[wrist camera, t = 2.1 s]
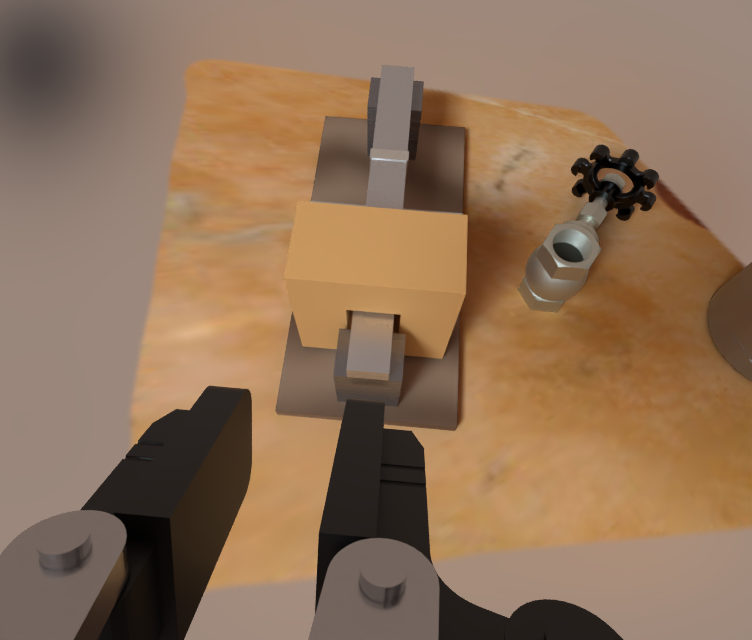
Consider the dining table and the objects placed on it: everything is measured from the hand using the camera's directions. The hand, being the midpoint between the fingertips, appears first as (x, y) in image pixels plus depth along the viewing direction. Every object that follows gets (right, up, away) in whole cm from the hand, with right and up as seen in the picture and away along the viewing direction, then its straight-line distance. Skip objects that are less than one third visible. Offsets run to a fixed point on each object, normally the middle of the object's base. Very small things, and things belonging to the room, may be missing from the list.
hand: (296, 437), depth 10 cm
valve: (+16, +7, +33) cm, 37 cm away
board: (+2, +7, +32) cm, 33 cm away
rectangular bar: (+2, +7, +31) cm, 32 cm away
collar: (+1, +2, +28) cm, 28 cm away
